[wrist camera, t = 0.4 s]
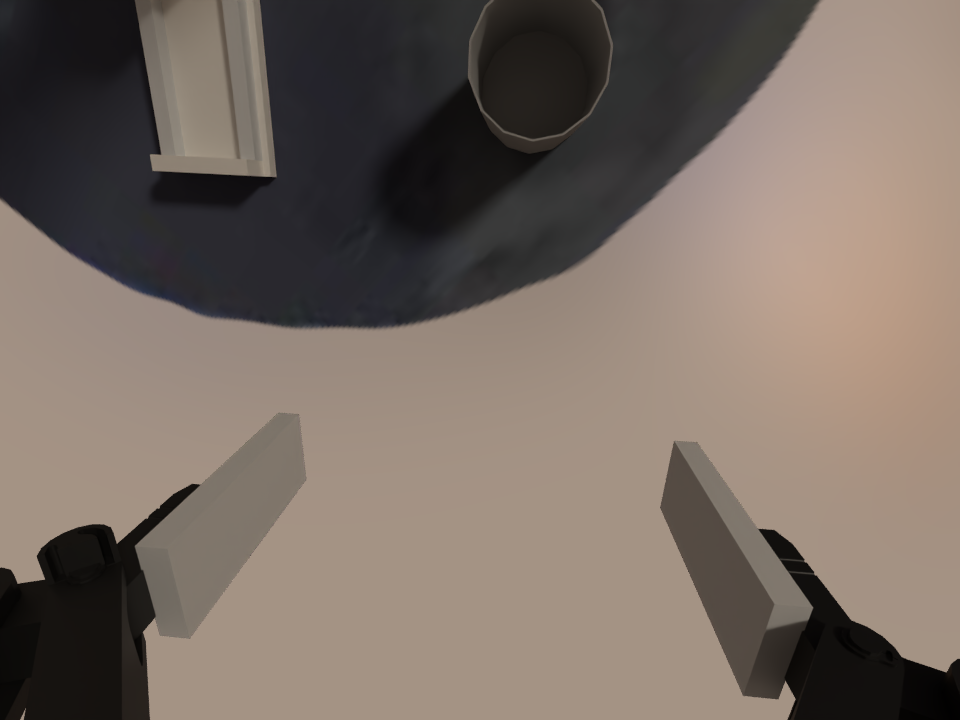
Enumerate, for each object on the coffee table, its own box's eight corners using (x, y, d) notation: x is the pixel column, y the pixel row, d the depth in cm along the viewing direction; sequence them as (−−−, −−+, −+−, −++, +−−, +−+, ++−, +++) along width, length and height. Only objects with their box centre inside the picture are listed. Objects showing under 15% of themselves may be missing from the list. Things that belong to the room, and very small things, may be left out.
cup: (518, 174, 38) (518, 169, 29) (459, 83, 36) (439, 46, 27) (608, 106, 36) (639, 77, 27) (551, 5, 34) (563, -65, 25)
